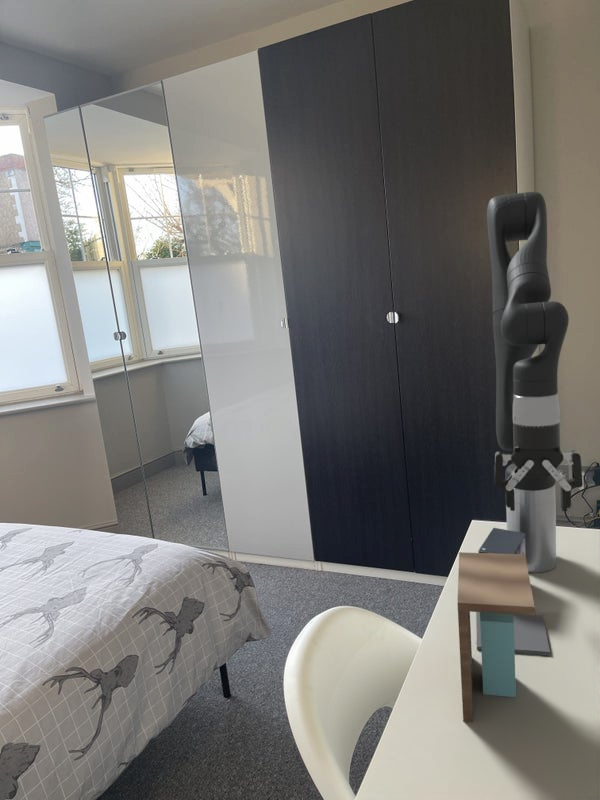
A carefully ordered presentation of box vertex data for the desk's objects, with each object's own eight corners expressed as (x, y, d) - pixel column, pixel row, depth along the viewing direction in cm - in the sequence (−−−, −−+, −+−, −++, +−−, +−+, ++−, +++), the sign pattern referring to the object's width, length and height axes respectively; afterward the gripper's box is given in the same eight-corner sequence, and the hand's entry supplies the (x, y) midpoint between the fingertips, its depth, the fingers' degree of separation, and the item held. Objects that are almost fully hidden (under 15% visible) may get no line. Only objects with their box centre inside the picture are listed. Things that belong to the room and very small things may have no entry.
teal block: (482, 673, 92) (479, 603, 89) (513, 676, 91) (511, 605, 88) (483, 694, 88) (480, 620, 85) (515, 697, 87) (513, 623, 84)
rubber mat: (476, 614, 107) (476, 611, 107) (542, 618, 104) (542, 615, 104) (476, 649, 98) (476, 646, 98) (550, 655, 95) (549, 651, 94)
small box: (515, 610, 107) (513, 556, 105) (478, 603, 111) (476, 550, 108) (527, 582, 116) (526, 531, 113) (493, 575, 119) (491, 526, 117)
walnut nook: (464, 656, 96) (459, 552, 92) (527, 661, 94) (525, 554, 90) (463, 720, 83) (457, 602, 79) (536, 728, 81) (534, 606, 77)
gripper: (577, 414, 105) (577, 503, 108) (491, 416, 109) (494, 502, 112) (585, 423, 98) (585, 518, 101) (493, 425, 102) (496, 516, 105)
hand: (537, 509), depth 106 cm, fingers open, 8 cm apart
